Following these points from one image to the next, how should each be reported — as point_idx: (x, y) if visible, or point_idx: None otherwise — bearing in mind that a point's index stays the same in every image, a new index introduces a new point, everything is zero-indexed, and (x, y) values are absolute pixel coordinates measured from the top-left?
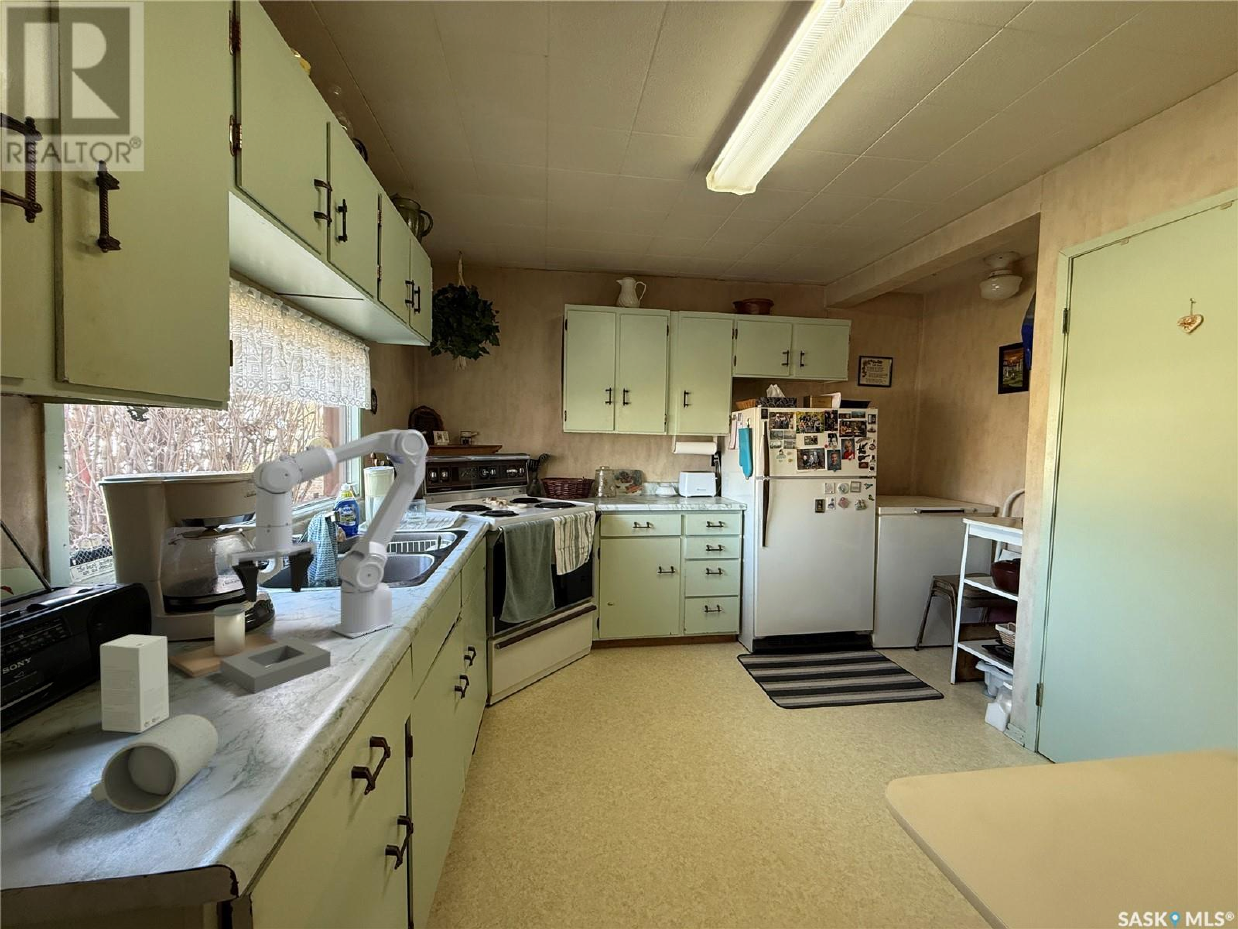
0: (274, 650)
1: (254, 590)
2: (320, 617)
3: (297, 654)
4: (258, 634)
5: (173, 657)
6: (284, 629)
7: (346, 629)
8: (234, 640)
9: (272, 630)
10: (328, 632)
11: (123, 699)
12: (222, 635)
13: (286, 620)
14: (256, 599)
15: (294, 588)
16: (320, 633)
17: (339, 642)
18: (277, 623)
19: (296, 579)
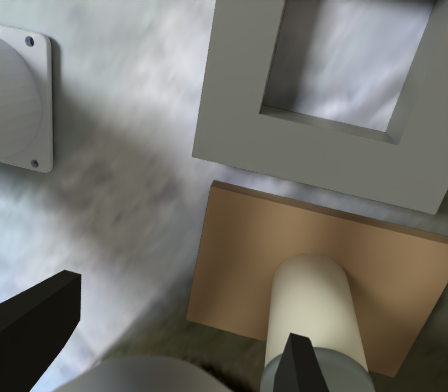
0: (301, 123)
1: (314, 389)
2: (18, 279)
3: (279, 26)
4: (194, 309)
5: (393, 369)
6: (120, 296)
7: (32, 94)
8: (326, 281)
9: (140, 316)
10: (65, 168)
11: None
12: (355, 317)
13: (81, 337)
14: (291, 340)
15: (70, 307)
16: (83, 184)
17: (93, 59)
18: (105, 340)
19: (28, 338)
